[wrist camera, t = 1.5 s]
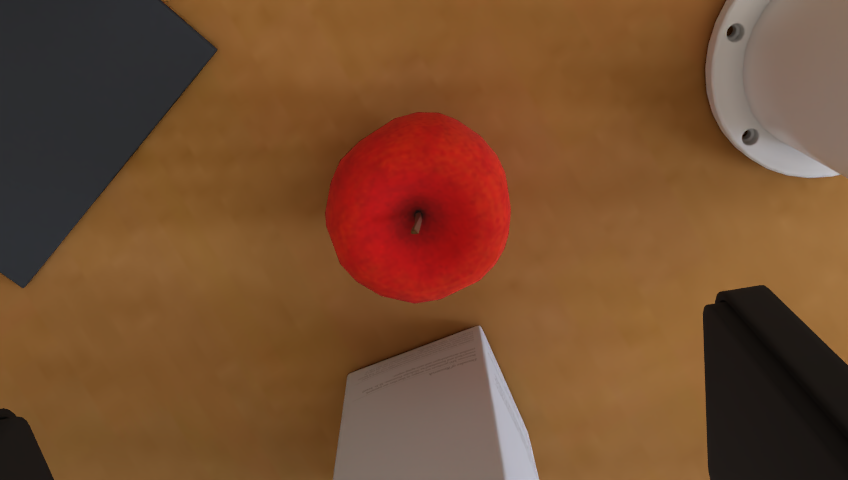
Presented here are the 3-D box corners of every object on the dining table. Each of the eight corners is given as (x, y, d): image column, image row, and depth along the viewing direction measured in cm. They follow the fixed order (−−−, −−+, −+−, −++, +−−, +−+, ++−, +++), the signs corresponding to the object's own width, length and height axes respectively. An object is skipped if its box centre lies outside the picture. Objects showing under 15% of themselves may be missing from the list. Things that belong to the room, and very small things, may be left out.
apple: (392, 60, 38) (388, 90, 31) (532, 149, 40) (558, 197, 33) (307, 200, 41) (284, 257, 34) (441, 277, 43) (447, 347, 36)
